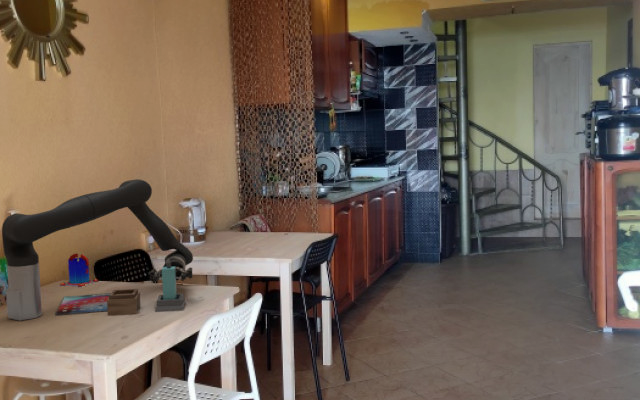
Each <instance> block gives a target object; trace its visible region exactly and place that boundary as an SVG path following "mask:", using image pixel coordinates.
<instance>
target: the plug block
mask: <svg viewBox="0 0 640 400" xmlns="http://www.w3.org/2000/svg"><path fill="white" fill-rule="evenodd" d="M166 265H167V267H163V266H162V268H161V269H162V280H161V281H162V282H161V283H162V295H163V300H168V299H177V294H178V293H177V281H176V267H171V261H170V260H168V261H166Z"/></svg>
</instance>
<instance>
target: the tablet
mask: <svg viewBox="0 0 640 400" xmlns="http://www.w3.org/2000/svg"><path fill="white" fill-rule="evenodd" d="M111 293H112V292H110V293H95V294H94V293H93V294H84V295H68V296H63V297H62V299H61V301H60V304H59V305H58V307H57V310H56V312H55V314H54V315H55V316H68V315H71V316H72V315H83V314H93V313H95V314H96V313H105V312H107V313H108V309H107V300H108V298H109V295H110V294H111Z"/></svg>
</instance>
